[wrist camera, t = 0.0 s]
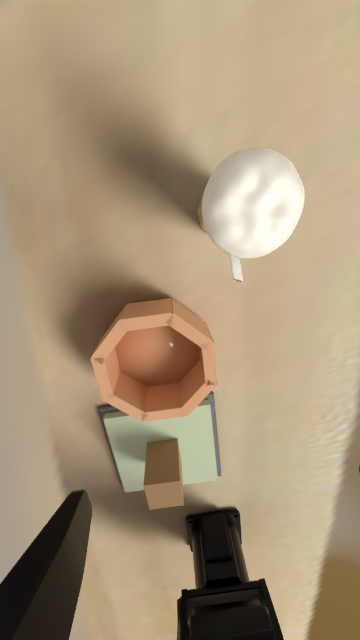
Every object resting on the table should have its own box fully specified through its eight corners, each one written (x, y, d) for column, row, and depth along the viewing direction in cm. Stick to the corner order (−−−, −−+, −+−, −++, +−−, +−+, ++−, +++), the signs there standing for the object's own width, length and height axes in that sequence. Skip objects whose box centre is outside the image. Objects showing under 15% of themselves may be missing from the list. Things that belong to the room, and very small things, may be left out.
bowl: (211, 382, 24) (219, 411, 21) (118, 395, 24) (109, 426, 21) (202, 292, 21) (210, 307, 18) (95, 306, 21) (80, 324, 18)
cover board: (216, 473, 28) (226, 525, 23) (126, 485, 28) (117, 540, 23) (208, 399, 25) (219, 442, 20) (105, 413, 25) (90, 460, 20)
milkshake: (176, 243, 20) (186, 264, 10) (200, 167, 18) (236, 111, 9) (231, 261, 20) (286, 296, 11) (258, 190, 19) (350, 160, 9)
